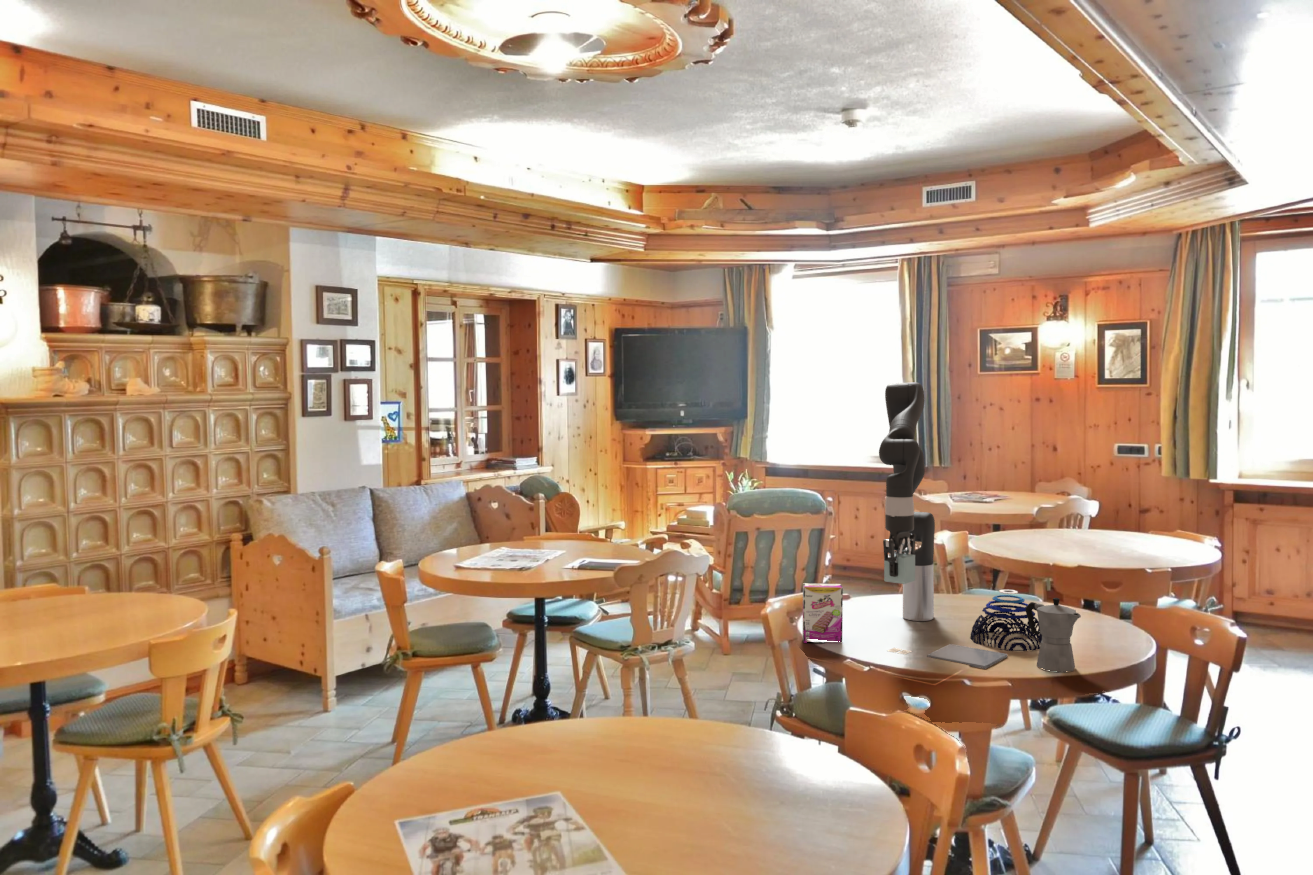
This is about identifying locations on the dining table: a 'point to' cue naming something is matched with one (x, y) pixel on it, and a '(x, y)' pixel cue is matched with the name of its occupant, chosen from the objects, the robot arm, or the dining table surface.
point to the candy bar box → (822, 611)
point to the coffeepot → (1054, 635)
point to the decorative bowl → (979, 629)
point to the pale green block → (901, 570)
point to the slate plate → (968, 655)
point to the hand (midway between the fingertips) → (899, 574)
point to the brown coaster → (900, 651)
